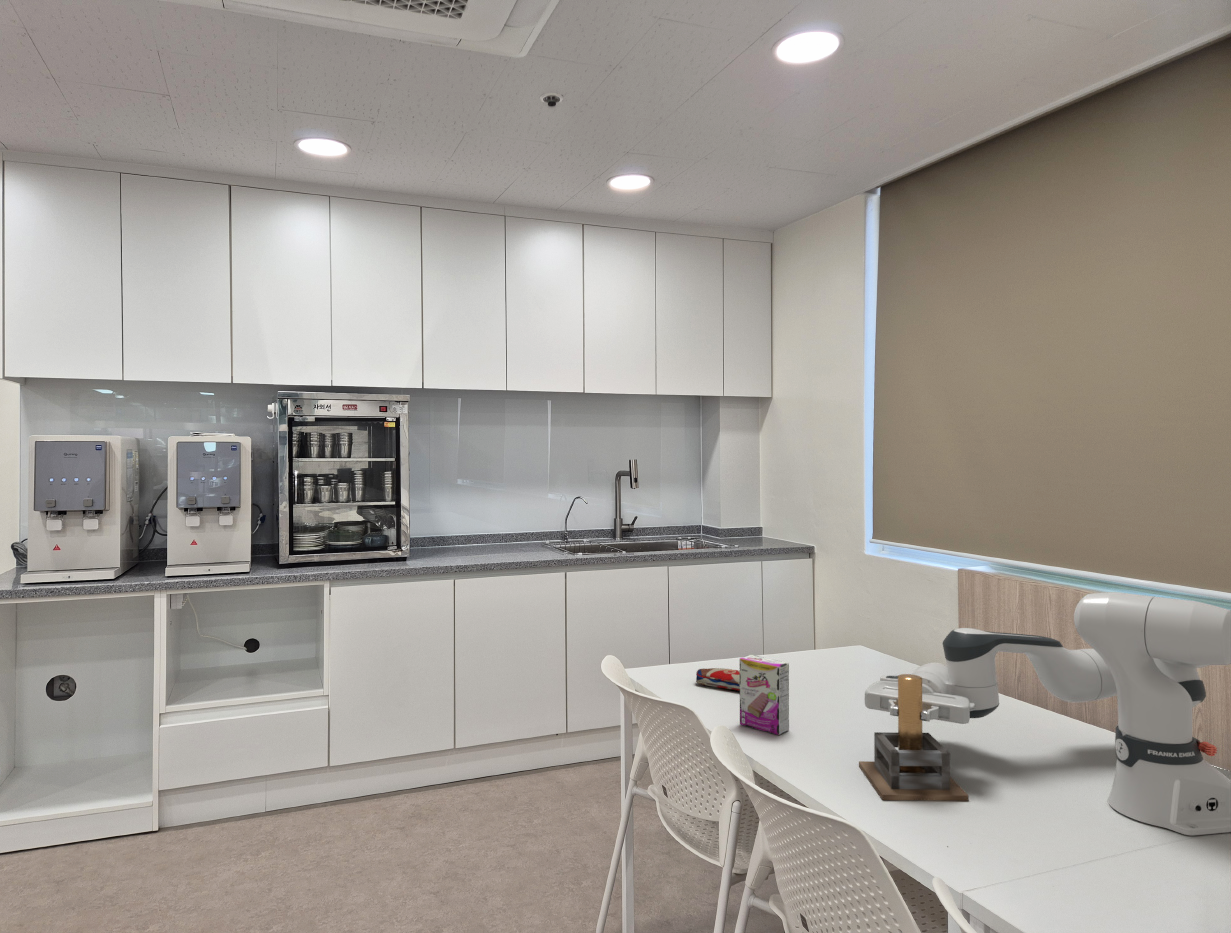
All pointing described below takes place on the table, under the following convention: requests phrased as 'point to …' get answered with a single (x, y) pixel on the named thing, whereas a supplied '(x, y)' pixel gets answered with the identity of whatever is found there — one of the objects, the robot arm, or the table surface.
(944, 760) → the collar stand
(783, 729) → the candy bar box
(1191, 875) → the table surface
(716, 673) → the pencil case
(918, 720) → the copper tube
